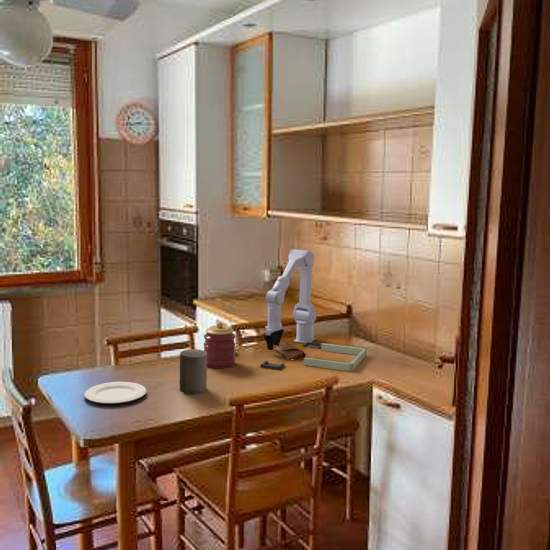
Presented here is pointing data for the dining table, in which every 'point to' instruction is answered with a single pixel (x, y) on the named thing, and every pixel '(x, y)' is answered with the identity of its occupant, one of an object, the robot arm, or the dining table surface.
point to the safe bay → (333, 364)
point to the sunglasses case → (289, 351)
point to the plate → (115, 392)
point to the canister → (220, 346)
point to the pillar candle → (193, 371)
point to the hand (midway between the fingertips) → (273, 347)
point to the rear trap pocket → (312, 345)
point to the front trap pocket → (272, 365)
